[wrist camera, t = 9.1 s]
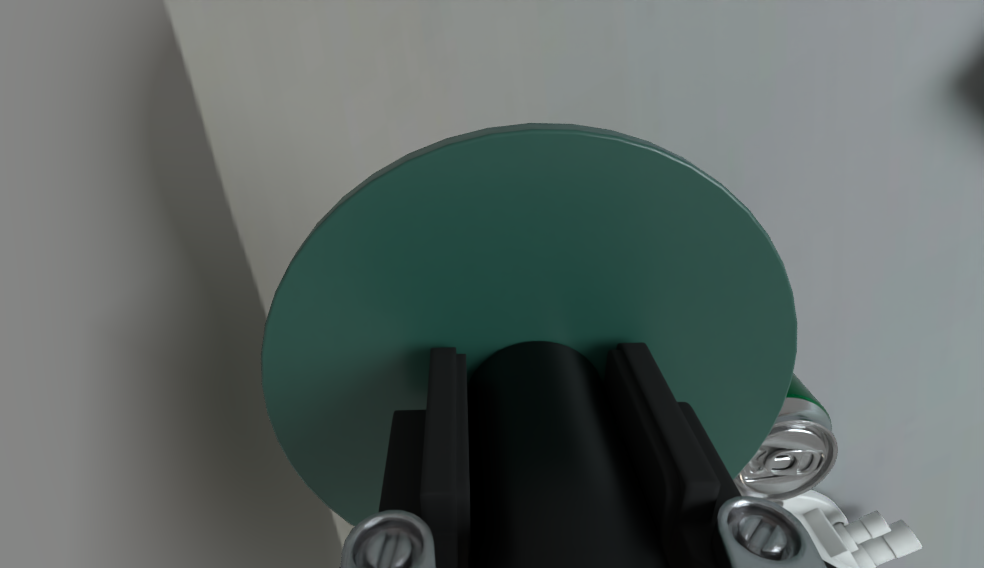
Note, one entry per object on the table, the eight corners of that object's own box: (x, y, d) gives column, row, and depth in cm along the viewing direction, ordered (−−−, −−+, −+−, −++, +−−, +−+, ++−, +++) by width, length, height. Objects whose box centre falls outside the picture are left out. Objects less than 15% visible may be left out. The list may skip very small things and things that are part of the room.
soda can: (640, 271, 32) (733, 413, 21) (729, 270, 32) (866, 411, 21) (628, 348, 34) (706, 511, 23) (711, 347, 34) (827, 508, 23)
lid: (461, -21, 10) (471, -36, 4) (873, 305, 13) (1210, 561, 7) (193, 422, 14) (-6, 751, 8) (564, 581, 17) (620, 891, 11)
